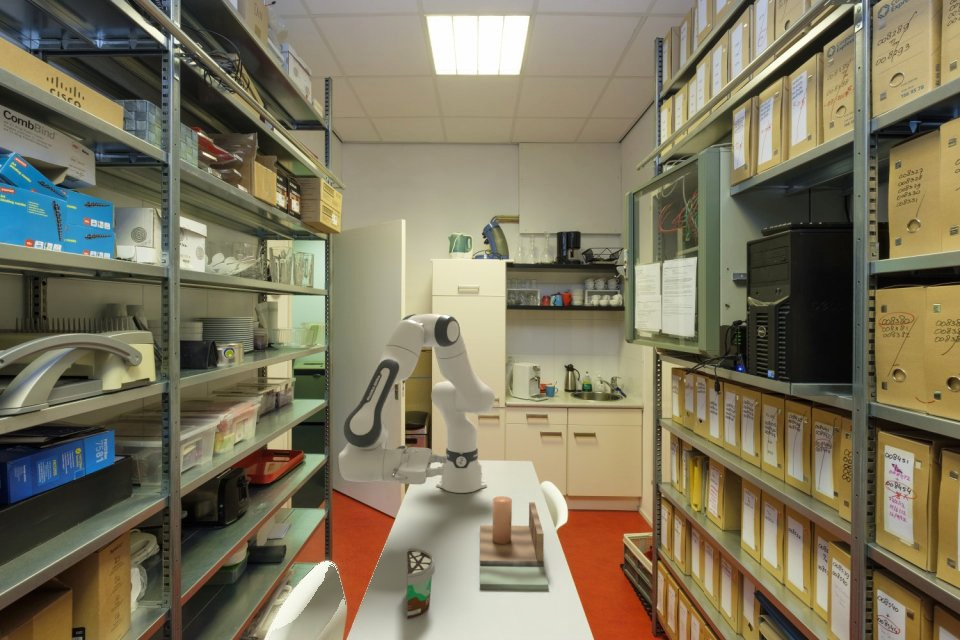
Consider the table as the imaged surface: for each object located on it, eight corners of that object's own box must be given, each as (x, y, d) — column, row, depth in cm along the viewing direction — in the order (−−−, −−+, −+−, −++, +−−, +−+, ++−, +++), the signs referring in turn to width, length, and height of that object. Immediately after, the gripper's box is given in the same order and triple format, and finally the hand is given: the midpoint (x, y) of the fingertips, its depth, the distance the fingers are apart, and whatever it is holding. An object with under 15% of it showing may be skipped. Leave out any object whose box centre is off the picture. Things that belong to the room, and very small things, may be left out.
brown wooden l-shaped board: (480, 532, 139) (480, 501, 139) (534, 532, 139) (534, 502, 139) (479, 589, 110) (480, 550, 110) (548, 589, 110) (548, 551, 110)
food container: (436, 620, 98) (437, 573, 98) (407, 623, 97) (407, 575, 97) (433, 587, 110) (433, 544, 110) (406, 589, 109) (406, 546, 109)
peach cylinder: (492, 535, 132) (492, 496, 132) (510, 535, 132) (511, 496, 133) (492, 544, 127) (493, 503, 127) (511, 544, 127) (512, 503, 127)
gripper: (389, 466, 122) (442, 466, 122) (402, 443, 143) (447, 443, 143) (389, 490, 122) (442, 490, 122) (402, 464, 143) (447, 464, 143)
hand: (445, 465), depth 133 cm, fingers open, 8 cm apart
